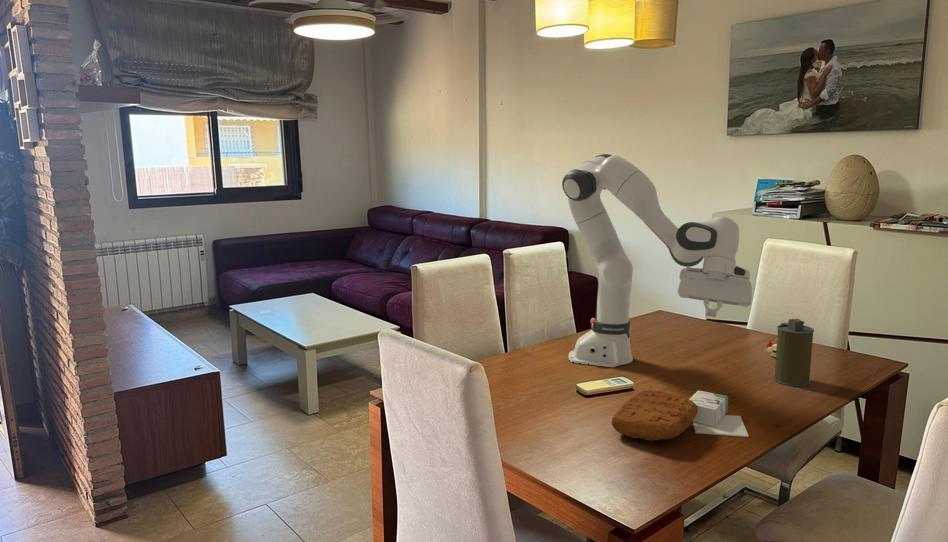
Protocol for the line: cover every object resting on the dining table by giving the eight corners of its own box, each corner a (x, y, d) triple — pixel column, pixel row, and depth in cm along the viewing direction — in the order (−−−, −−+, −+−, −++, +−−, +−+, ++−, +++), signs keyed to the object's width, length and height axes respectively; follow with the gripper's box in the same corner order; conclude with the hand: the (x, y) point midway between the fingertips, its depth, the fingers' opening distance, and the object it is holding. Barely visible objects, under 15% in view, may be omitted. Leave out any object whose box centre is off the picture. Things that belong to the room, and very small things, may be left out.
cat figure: (770, 344, 248) (763, 357, 226) (771, 322, 247) (765, 333, 226) (799, 348, 243) (794, 361, 222) (800, 325, 242) (796, 336, 221)
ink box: (728, 395, 179) (716, 409, 170) (727, 412, 180) (715, 427, 171) (697, 389, 184) (684, 402, 175) (697, 405, 185) (683, 419, 176)
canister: (817, 385, 201) (822, 323, 197) (787, 387, 199) (791, 325, 196) (794, 373, 211) (799, 314, 208) (765, 376, 210) (769, 316, 206)
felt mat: (695, 433, 168) (695, 431, 168) (690, 413, 181) (690, 412, 181) (748, 437, 165) (748, 435, 165) (740, 417, 178) (740, 415, 178)
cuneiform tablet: (643, 410, 184) (644, 384, 182) (703, 426, 173) (704, 397, 171) (605, 437, 167) (605, 407, 166) (668, 456, 156) (669, 424, 155)
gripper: (680, 262, 191) (672, 307, 187) (755, 272, 183) (748, 318, 179) (681, 269, 196) (674, 313, 193) (754, 279, 188) (747, 324, 185)
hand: (710, 315), depth 186 cm, fingers closed
